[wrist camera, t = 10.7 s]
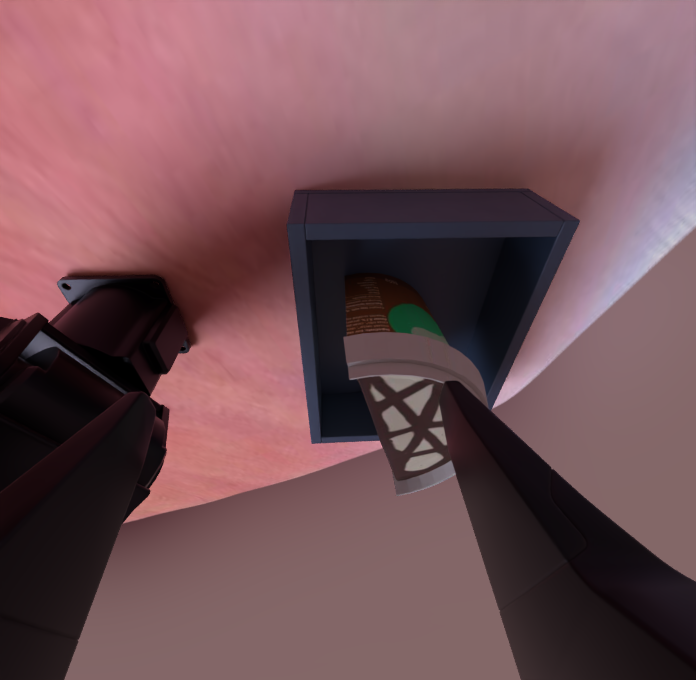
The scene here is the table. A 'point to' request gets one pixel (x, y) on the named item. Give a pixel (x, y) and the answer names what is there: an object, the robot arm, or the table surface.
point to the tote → (419, 279)
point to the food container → (404, 375)
